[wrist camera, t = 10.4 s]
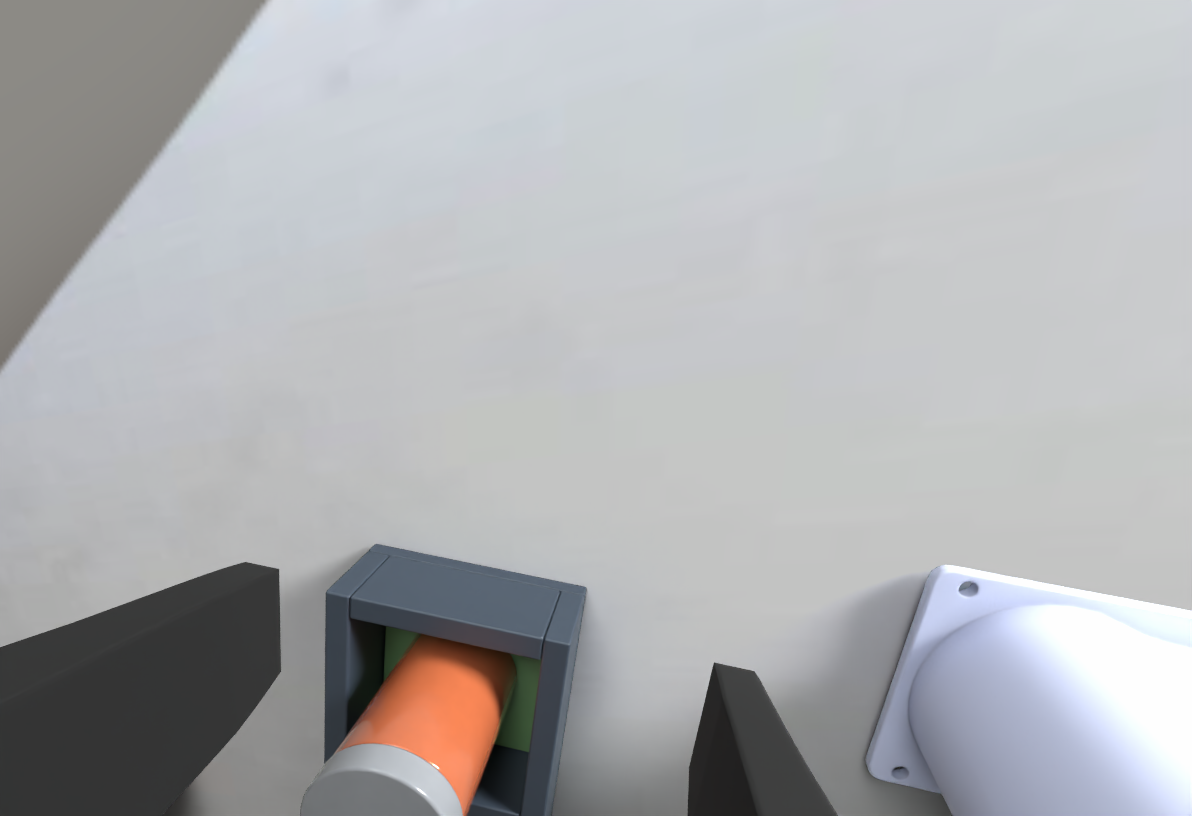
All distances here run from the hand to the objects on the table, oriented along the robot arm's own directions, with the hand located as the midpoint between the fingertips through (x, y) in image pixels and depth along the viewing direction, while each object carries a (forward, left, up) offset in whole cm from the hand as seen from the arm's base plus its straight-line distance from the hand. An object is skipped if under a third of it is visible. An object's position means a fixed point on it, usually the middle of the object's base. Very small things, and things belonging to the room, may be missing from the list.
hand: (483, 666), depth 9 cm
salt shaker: (+3, +8, -9) cm, 12 cm away
